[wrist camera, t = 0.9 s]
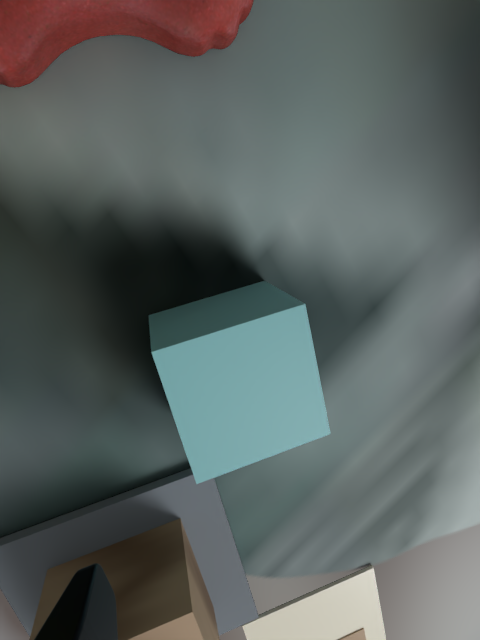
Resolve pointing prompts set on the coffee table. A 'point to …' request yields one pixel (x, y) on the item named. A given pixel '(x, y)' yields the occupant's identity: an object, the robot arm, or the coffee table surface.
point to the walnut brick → (145, 587)
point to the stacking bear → (109, 28)
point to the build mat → (122, 523)
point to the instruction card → (326, 613)
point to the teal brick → (239, 377)
